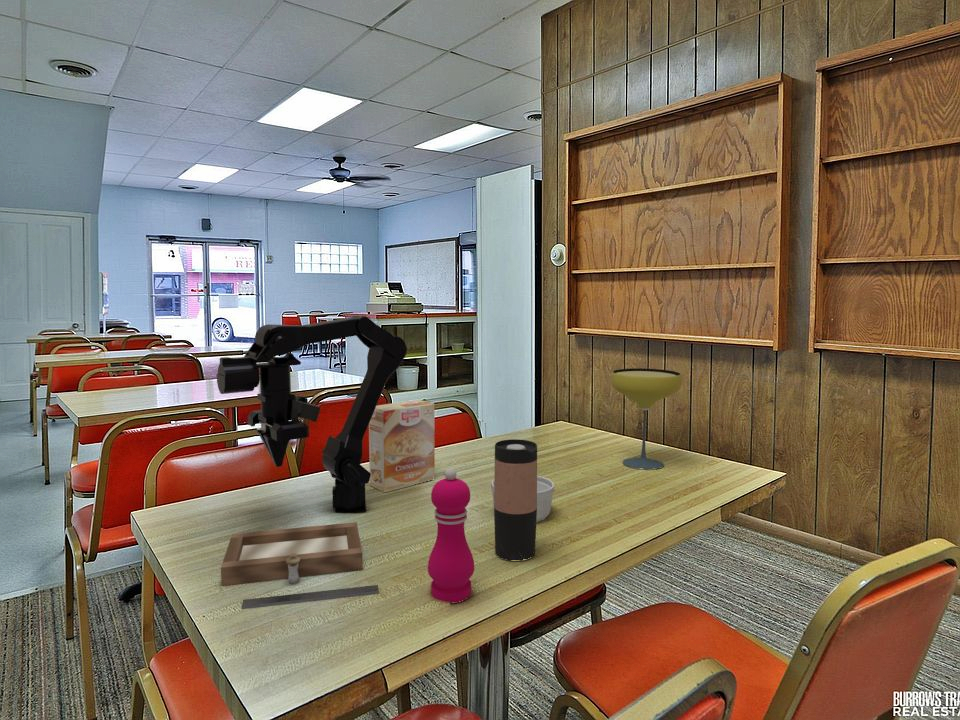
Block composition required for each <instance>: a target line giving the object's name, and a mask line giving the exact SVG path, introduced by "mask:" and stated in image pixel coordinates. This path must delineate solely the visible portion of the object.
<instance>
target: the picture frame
mask: <svg viewBox="0 0 960 720" xmlns="http://www.w3.org/2000/svg"><path fill="white" fill-rule="evenodd" d="M297 563H298V567H299V578H301V577H311V576H318V575H319V576H320V575H328V574H338V573H345V572H346V573H347V572H355V571H362V570H363V549H362V546H361V538H360V533H359V528H358V522H357V521H355V522H354V521H353V522H344V523H334V524H325V525H323V524H322V525H314V526H313V525H312V526H302V527H301V526H300V527H292V528H281V529H280V528H279V529H271V530H270V529H269V530H268V529H267V530H261V531H260V530H259V531H249V532H239V533H232V534H231V536H230V540H229V543H228V545H227V549H226V550H225V554H224V557H223V560H222V562H221V566H220V576H221V577H220V580H221V587H223V586H231V585H233V586H234V585H241V584H250V583H259V582H266V581H267V582H268V581H274V580H275V581H277V580H285V579H286V580H287V579H288V564H289V565H293V564H297Z"/></svg>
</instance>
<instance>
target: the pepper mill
mask: <svg viewBox="0 0 960 720" xmlns="http://www.w3.org/2000/svg"><path fill="white" fill-rule="evenodd" d="M444 476H445V478H442V479H440V480H438V481H437V482H436V483H435V484H434V485H433V487H432V489H431V493H430V499H431V503H432V506H434V507H435V510H434V520H435V521H436V523H437V534H436V539H435V542H434V545H433V547H432V550H431V551H430V554H429V559H428V563H427V573H428V575H429V577H430V578H431V580H432V581H431V584H430V594H431V596H432V597H433V598H434V599H436V600H437V601H441V602H447V603H450V602H459V601H462V600H465V599H466V598H468V597H469V596H470V597H471V595H472V582H471V580H470V579H471V578H472V576H473V575H474V572H475V560H474V556H473V553H472V551H471V548H470V547H469V543H468V541H467V538H466V534H465V533H466V532H465V522H466V521H467V519H468V515H467V513H468V510H467V508H466V507H467V506H468V505H469V503H470V501H471V490H470V487H469V485H468V484H467V483H466V482H465V481H464V480H462V479H459V478H457V471H456V470H455V469H453V468H448V469H447V470H446V471H445V473H444ZM470 594H471V595H470ZM470 597H469V598H470ZM469 598H468V599H469ZM465 601H466V600H465ZM459 603H460V602H459Z"/></svg>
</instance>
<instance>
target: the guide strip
mask: <svg viewBox="0 0 960 720" xmlns="http://www.w3.org/2000/svg"><path fill="white" fill-rule="evenodd" d="M379 594H380V589H379V585H378V584H375V585H374V584H373V585H363V586H356V587H346V588H337V589H329V590H320V591H319V590H317V591H311V592H301V593H292V594H282V595H274V596H264V597H256V598H247V599H243V600H242V603H241V605H240V606H241V607H240V609H241V610H246V609H255V608H263V607H270V606H272V607H274V606H282V605H291V604H299V603H300V604H301V603H308V602H310V603H311V602H317V601H326V600H334V599H344V598H352V597H360V596H361V597H362V596H368V595H379Z"/></svg>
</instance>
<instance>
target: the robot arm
mask: <svg viewBox="0 0 960 720" xmlns="http://www.w3.org/2000/svg"><path fill="white" fill-rule="evenodd" d="M355 336H356V337H357V338H358V340H359V341H360V342H361V343H362V344H363V345H364V346H366V347H367V348H368V352H367V357H366V359H367V361H366V363H367V365H366V366H367V367H366V368H367V369H366V373H365V375H364V378H363V380H362V382H361V384H360V387H359V389H358V392H357V394H356V397H355V399H354V401H353V403H352V406H351V409H350V411H349V413H348V415H347V418H346V419H345V423H344V425H343V427H342V429H341V431H340V432H339V433H338V434H337V435H336V436H335V437H334V436H332V435H329V436H328V437H327V440H326V444H325V446H324V448H323V449H322V451H321V452H320V453H321V454H322V457H321V463H322V466H323V468H324V469H325V470H326V471H328V472H329V474H330V475H331V477H332V479H334V485H333V486H332V488H331V489H332V491H331V492H332V509H334V512H335V514H352V513H353V514H354V513H362V512H367V510H368V509H367V503H366V502H367V501H366V484H370V476H371V473H370V471H368V470H367V469H366V468H365V467H364V466H362V464H361V462H362V458H363V454H364V453H363V446H364V445H363V440H364V436H365V435H366V432H367V429H368V428H369V422H370V420H371V418H372V415H373V413H374V410H375V408H376V406H378V403H379V400H380V398H381V396H382V393H383V391H384V388H385V386H386V384H387V381H388V379H389V378H390V377H391V376H392V374H394V372H396V371H397V370H398V368H400V366H401V364H402V363H403V361H404V359H405V358H406V356H407V352H408V346H407V344H406V342H405V340H404V339H403V338H402V337H400V336H398V335H393V334H392V333H390V332H389V331H387V330H386V329H384V328H383V327H381V326H380V325H378V324H377V323H375V322H374V321H372V320H371V318H369V316H365V315H354V316H352V317H351V316H350V317H348V318H347V317H345V318H341V319H340V318H339V319H333V320H327V321H322V322H321V321H320V322H315V323H314V322H312V323H309V324H303V325H296V324H294V325H293V324H270V323H269V324H264V325H261V326H259V328H258V329H257V331H256V333H255V336H254V342H253V343H252V345H250V347H249V349H248V350H247V351H246V353H245V354H244V355H243V356H237V357H227V356H225V357H220V358H219V365H218V367H217V373H216V384H217V388H218V391H219V393H220V394H221V395H226V394H237V393H247V392H248V393H249V392H254V390H255V388H258V386H259V388H260V389H259V393H257V394H256V395H257V397H256V398H257V400H259V401H260V409H255V410H252V411H250V412H249V414H248V415H247V425H248V426H250V427H255V426H256V424H260V430H257V431H256V432H257V434H258V436H259V437H260V440H261V441H262V443H263V445H264V447H265V449H266V451H267V452H268V455H269V457H270V458H271V460H272V462H273V464H274V466H275V467H277V468H279V467H282V466H283V463H284V460H285V455H286V452H287V448H288V446H289V442H290V441H291V440H298V439H299V440H300V439H307V438H309V437H310V427H309V426H308V425H307V424H306V423H305V422H303V421H301V420H298V419H299V418H301V419H305V420H309V421H311V422H314V423H317V422H318V420H319V419H318V418H319V415H320V412H321V409H322V407H321V406H318V405H316V404H313V403H310V402H308V398H307V397H305V396H302V395H297V396H296V394H295V393H293V392H292V386H291V385H292V384H291V381H292V379H291V366H300V365H301V364H302V362H301V360H299V359H298V358H296V357H295V355H294V353H293V352H294V351H297V350H299V349H301V348H303V347H305V346H308V345H311V344H317V343H322V342H327V341H328V342H329V341H333V340H338V339H345V338H351V337H355ZM277 356H278V357H277Z"/></svg>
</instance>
